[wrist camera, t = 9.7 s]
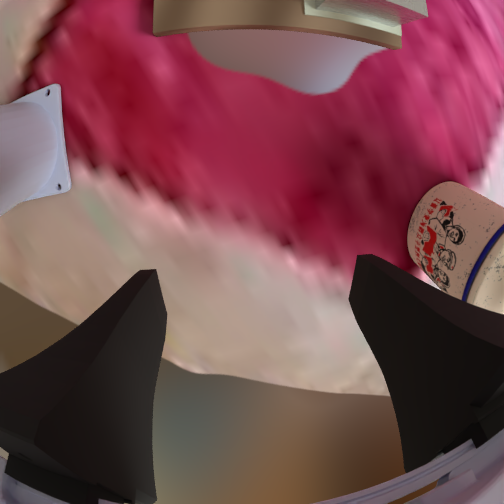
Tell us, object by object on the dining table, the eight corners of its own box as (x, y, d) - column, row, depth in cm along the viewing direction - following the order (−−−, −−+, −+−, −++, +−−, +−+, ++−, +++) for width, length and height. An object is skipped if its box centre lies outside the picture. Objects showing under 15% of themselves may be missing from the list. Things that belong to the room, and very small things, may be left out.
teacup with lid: (407, 179, 19) (521, 251, 9) (476, 176, 19) (569, 230, 9) (391, 300, 25) (452, 392, 14) (455, 281, 25) (516, 351, 15)
